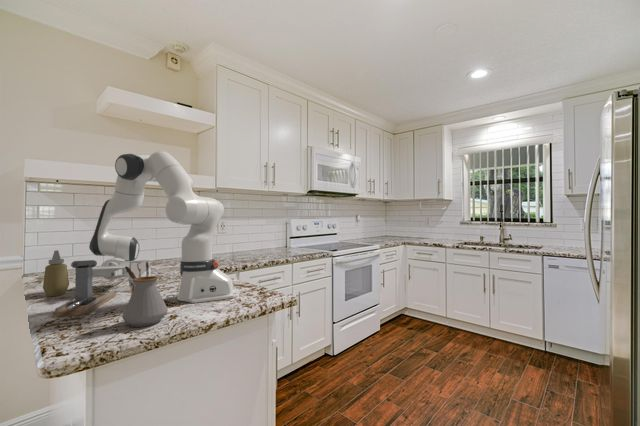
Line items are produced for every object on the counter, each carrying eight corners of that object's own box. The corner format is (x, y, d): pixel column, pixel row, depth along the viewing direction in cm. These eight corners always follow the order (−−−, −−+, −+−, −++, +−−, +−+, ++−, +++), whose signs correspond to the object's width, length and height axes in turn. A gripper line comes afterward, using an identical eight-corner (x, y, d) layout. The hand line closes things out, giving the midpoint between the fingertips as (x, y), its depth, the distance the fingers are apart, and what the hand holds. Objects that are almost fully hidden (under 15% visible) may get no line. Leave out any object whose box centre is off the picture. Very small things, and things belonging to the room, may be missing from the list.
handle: (99, 299, 106) (99, 259, 106) (83, 309, 94) (83, 263, 95) (75, 301, 104) (75, 260, 104) (55, 311, 92) (55, 265, 93)
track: (115, 295, 118) (115, 289, 118) (86, 314, 95) (86, 306, 95) (89, 297, 116) (89, 291, 116) (52, 317, 93) (52, 309, 93)
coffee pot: (174, 320, 88) (174, 270, 88) (131, 332, 79) (131, 276, 79) (144, 308, 101) (144, 263, 102) (104, 317, 92) (104, 268, 93)
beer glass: (140, 306, 103) (140, 263, 103) (123, 305, 104) (123, 262, 105) (155, 301, 110) (155, 260, 110) (139, 300, 111) (139, 260, 112)
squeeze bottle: (42, 294, 121) (43, 250, 122) (68, 291, 127) (68, 249, 127) (42, 298, 115) (42, 252, 116) (69, 294, 121) (69, 250, 121)
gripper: (84, 262, 125) (66, 267, 112) (139, 260, 130) (129, 265, 117) (84, 277, 125) (66, 284, 111) (139, 274, 130) (128, 281, 117)
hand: (99, 274), depth 114 cm, fingers open, 8 cm apart
